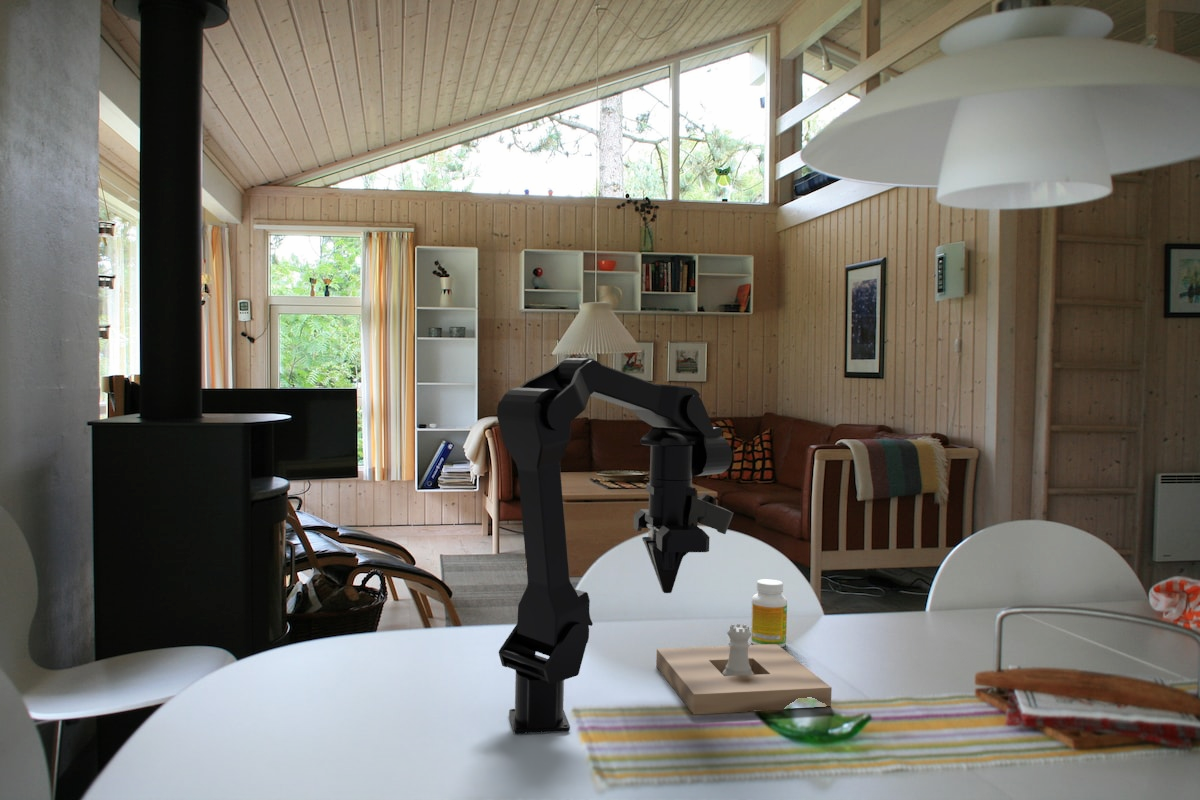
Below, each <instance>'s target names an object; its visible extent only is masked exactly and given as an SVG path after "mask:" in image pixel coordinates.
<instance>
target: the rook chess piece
mask: <svg viewBox="0 0 1200 800" xmlns="http://www.w3.org/2000/svg"><path fill="white" fill-rule="evenodd" d="M726 634H727V635H728V637H729V639H730V640H729V643H728V646H730V653H729V659H728V663H727V665H726V666H725V667H726V669H725V670H724V671H723V672H722V675H723V676H738V675H754V673H753V672H752V671H751V667H750V665H749V658H748V647H749V646H750V645H751V644H749V639H751V635H752V634H751V630H750V626H747V625H746V624H742V626H741V623H736V625H735V624H733V623H732V624H730V626H729V630H728V631H727V632H726Z"/></svg>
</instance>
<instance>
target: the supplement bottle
mask: <svg viewBox="0 0 1200 800" xmlns="http://www.w3.org/2000/svg"><path fill="white" fill-rule="evenodd" d="M756 590H757V593H755V594H754V595H753V596H752V598H751V616H750V617H751V621H750V622H751V623H750V626H751V627H750V633H751V634H752V635H751V636H750V642H751V645H763V644H777V645H778V646H780V647H781V648H783V647H786V644H787V620H788V619H787V618H788V617H787V616H788V599H787V597H785V595H783V594H782V593H783V592H784V582H782V581H781V580H779V579H773V578H772V579H771V578H762V579H758V580H757V581H756Z"/></svg>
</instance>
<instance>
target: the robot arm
mask: <svg viewBox="0 0 1200 800" xmlns="http://www.w3.org/2000/svg"><path fill="white" fill-rule="evenodd" d="M700 395H701V393H700V391H699V390H697V388H695V387H693V386H685V385H674V384H661V383H660V384H659V383H653V382H650V381H648V380H647V379H646V380H645V379H642V378H641V377H636V376H635V375H632V374H628V373H626V372H624V371H621V370H618V369H616V368H613V367H610V366H607V365H605V364H602V363H600V362H599V361H598V360H596V359H594V358H590V357H589V358H586V357H582V358H581V357H580V358H579V357H568V358H565V359H563V360H561V361H560V362H559V363H557V364H556V365H554V366H553V367H552V368H551V369H549V370H547V371H545V372H543V373H541V374H539V375H536V376H535V377H533V378H531V379H529V380H527V381H526V382H524V383H523V384H522V385H520V386H519V387H514V388H511V389H509V390H507V392H505V393H504V395H503V396H502V398H501V399H500V400H499V401H498V403H497V409H496V410H497V411H496V413H497V414H496V417H497V422H498V426H499V430H500V434H501V438H502V443H503V444H504V446H505V448H506V449H507V452H508V453H509V455H510V457H511V458H512V459H513V461H514V463H515V464H516V467H517V469H516V470H517V475H518V478H517V479H518V489H519V498H520V509H521V511H520V512H521V522H522V532H523V541H524V543H523V544H524V552H525V553H524V554H525V565H526V575H527V576H526V579H527V586H526V588H525V590H524V592H523V594H522V595H521V598H520V600H519V601H518V605H517V623H516V625H515V626H514V628H513V629H512V631H511V632H510V634H509V635H508V637H507V638H506V639H505V641H504V642H503V644H502V646H501V647H500V649H499V650H498V656H499V659H500V662H501V666H502V667H504V668H509V669H512V670H514V671H515V684H514V685H515V687H514V688H515V691H514V692H515V695H514V696H515V697H514V708H510V709H509V711H508V715H509V719H510V723H511V727H512V730H513V731H512V732H513V734H516V735H521V734H537V733H556V732H568V731H570V730H571V725H570V723H569V720H568V717H567V714H566V712H565V710H564V695H565V690H564V689H565V680H568V679H570V678H574V677H577V676H579V674H580V671H581V666H582V663H583V658H584V654H585V652H586V647H587V644H588V643H589V637H590V627H591V626H593V622H592V619H591V615H590V601H591V600H590V597H589V593H588V592H587V591H584V590H583V591H582V590H580V589H576V588H575V587H574V585H573V583H572V582H571V579H570V570H569V569H570V567H569V559H568V546H567V534H566V533H567V531H566V524H565V523H566V522H565V511H564V510H565V509H564V499H563V498H564V497H563V485H562V476H561V473H562V472H561V460H562V458H563V457H564V455H565V452H566V450H567V448H568V445H569V443H570V441H571V432H572V431H571V429H572V427H571V426H572V422H573V420H575V419H576V418H577V417H579V415H580V414H582V413H583V412H584V411H585V409H586V408H587V405H588V403H589V399H590V397H592V398H595V399H598V400H601V401H605V402H607V403H610V404H613V405H617V406H619V407H622V408H626V409H628V410H631V411H632V412H634V413H635V414H636V416H637V418H638V419H640V421H643V422H645V423H646V424H648V426H649V425H650V426H651V428H650V429H649V431H648V433H646V434H645V435H643V436H642V438H640V440H639V442H640V444H641V446H642V445H643V446H650V461H649V462H650V464H649V483H648V482H647V483H645V491H646V492H647V493H649V494H648V508H640V509H639V510H638V511H637V512H636V513H635V514H634V515H633V529H634V530H635V531H637V532H641V531H642V528H643V529H648V535H647V536H643V537H642V542H643V544H644V546H645V548H646V551H647V555H648V556H649V558H650V562H651V564H652V567H653V569H654V572H655V575H656V579H657V581H658V583H659V585H660V589H661V591H662V592H663V594H672V592H673V590H674V589H673V588H674V585H675V582H676V579H677V575H678V573H679V569H680V566H681V563H682V561H683V559H684V557H685V556H686V555H688V553H708V552H710V536H709V535H708V533H706V532H705V530H704V529H702V528H700V527H698V525H699V524H701V525H704V526H706V527H709V528H711V529H714V530H716V531H717V532H718V533H719V534H723V535H726V534H727V531H728V528H729V527H730V524H731V521H732V519H733V515H734V511H733V512H732V511H730V510H729V509H727V508H724V507H722V506H720V505H717V504H718V503H717V498H716V497H714V496H712V495H710V494H707V493H702V494H701V495H700V496H698V490H697V489H696V487H695V486H692V484H693V477H701V476H710V475H720V474H723V473H725V472H726V471H727V470H728V469H729V467H730V466H731V465H732V461H733V457H734V456H733V450H732V449H731V445H730V443H729V441H728V440H727V439H726V438H725V437H724V436H722V427H718V426H717V427H715V426H714V425H713V424H712V421H711V419H710V416H709V414H708V412H707V410H706V407H705V405H704V403H703V400H702V399H701V397H700ZM589 626H590V627H589ZM536 653H540V654H542V655H545V656H548V658H546V657H544V656H541V655H537V654H536Z"/></svg>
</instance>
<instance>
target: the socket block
mask: <svg viewBox="0 0 1200 800" xmlns="http://www.w3.org/2000/svg"><path fill="white" fill-rule="evenodd" d="M749 645H750V646H749V647H748V658H749V665H750V667H751V671H752V672H753V673H754V675H738V676H723V675H722V672H723V671H724V670H725V669H726V667H725V666H726V665H727V663H728V659H729V653H730V646H729V645H720V646H719V645H717V646H713V645H712V646H694V647H665V648H662V647H661V648H656V658H655V659H656V661H655V662H656V664H655V665H656V668H657V669H658V670H659V671H660V673H661V674H662V676H663V677H664V678H665V679H666V681H667V683H669V684H670V686H671V687H672V689H674V691H675V693H676V694H677V695H678V697H680V699H681V701H683V703H684V704H685V706H687V708H688V709H689V711H690V712H691V713H692V714H693V715H695V716H696V715H710V714H711V715H713V714H729V713H749V712H748V711H751V712H755V711H754V710H766V711H767V712H768V711H782V710H781V709H784V708H785V707H786V706H787V705H789V704H790V703H792V702H794V701H795V700H796V699H798V698H807V697H812V698H815V699H817V700H818V701H820V702H822V703H825V704H826V705H827V706H831V707H832V691H833V690H832V689H833V688H832V686H830V684H828V683H826V682H825V681H824V680H823V679H821V678H820V677H819V676H818V675H816V674H815V673H814V672H813V671H812V670H810V669H809V668H808V667H807V666H805V664H803V663H801V662H800V661H799V660H798V659H796V658H795V657H794V656H793V655H791V654H790V653H789V652H787V651H786V650H785V649H784V648H783V647H780V646H778V645H777V644H763V645H754V644H749Z"/></svg>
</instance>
